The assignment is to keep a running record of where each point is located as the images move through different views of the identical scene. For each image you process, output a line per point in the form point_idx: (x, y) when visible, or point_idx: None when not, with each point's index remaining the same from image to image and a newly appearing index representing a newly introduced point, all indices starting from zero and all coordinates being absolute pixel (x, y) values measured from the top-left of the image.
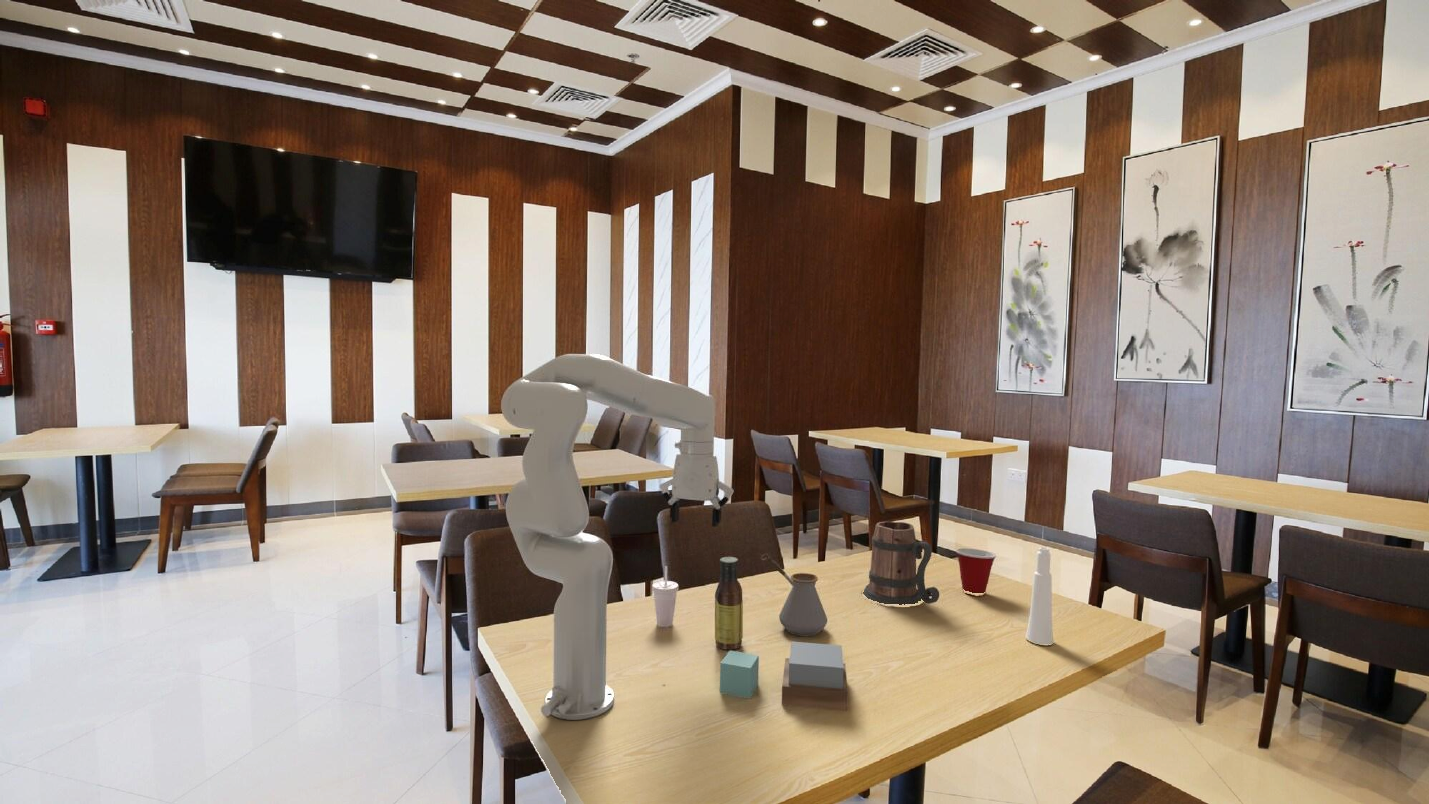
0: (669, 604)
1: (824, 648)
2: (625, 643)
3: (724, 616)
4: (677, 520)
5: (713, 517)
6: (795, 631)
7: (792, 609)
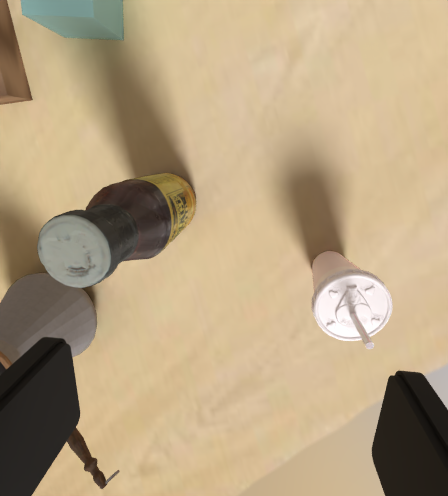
0: (324, 269)
1: None
2: (393, 143)
3: (148, 177)
4: (378, 427)
5: (5, 383)
6: None
7: (42, 302)
